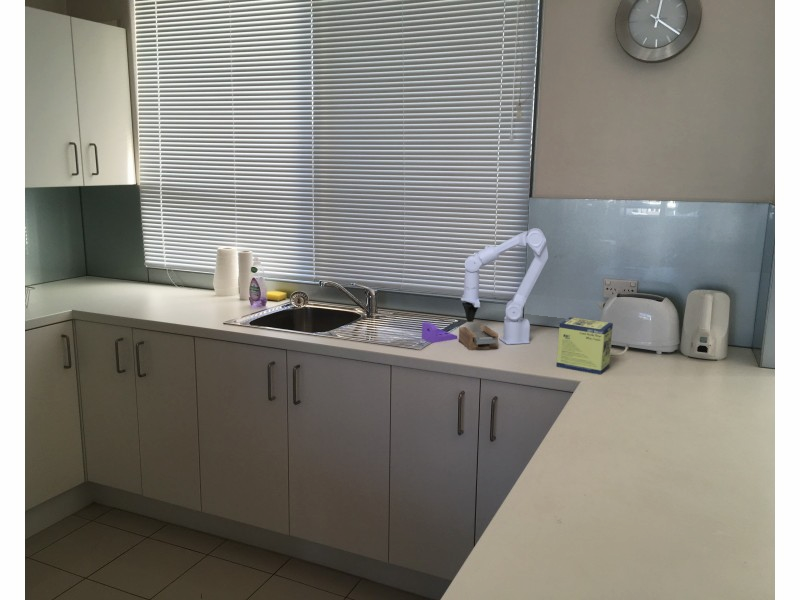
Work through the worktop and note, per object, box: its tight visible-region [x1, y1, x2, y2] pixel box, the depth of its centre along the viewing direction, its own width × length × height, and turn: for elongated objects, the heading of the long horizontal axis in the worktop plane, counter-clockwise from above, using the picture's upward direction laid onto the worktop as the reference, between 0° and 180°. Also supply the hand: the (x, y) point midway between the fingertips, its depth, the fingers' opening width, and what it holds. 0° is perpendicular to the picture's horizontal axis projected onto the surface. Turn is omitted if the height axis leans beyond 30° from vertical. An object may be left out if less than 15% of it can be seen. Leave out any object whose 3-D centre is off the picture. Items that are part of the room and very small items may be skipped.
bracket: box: [421, 321, 458, 344], centre depth 262 cm, size 12×7×7 cm, turn 122°
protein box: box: [555, 317, 614, 376], centre depth 229 cm, size 10×16×16 cm
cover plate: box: [472, 330, 497, 344], centre depth 251 cm, size 8×12×2 cm, turn 14°
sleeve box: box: [458, 325, 499, 351], centre depth 254 cm, size 11×12×6 cm
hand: (470, 321), depth 262 cm, fingers closed
